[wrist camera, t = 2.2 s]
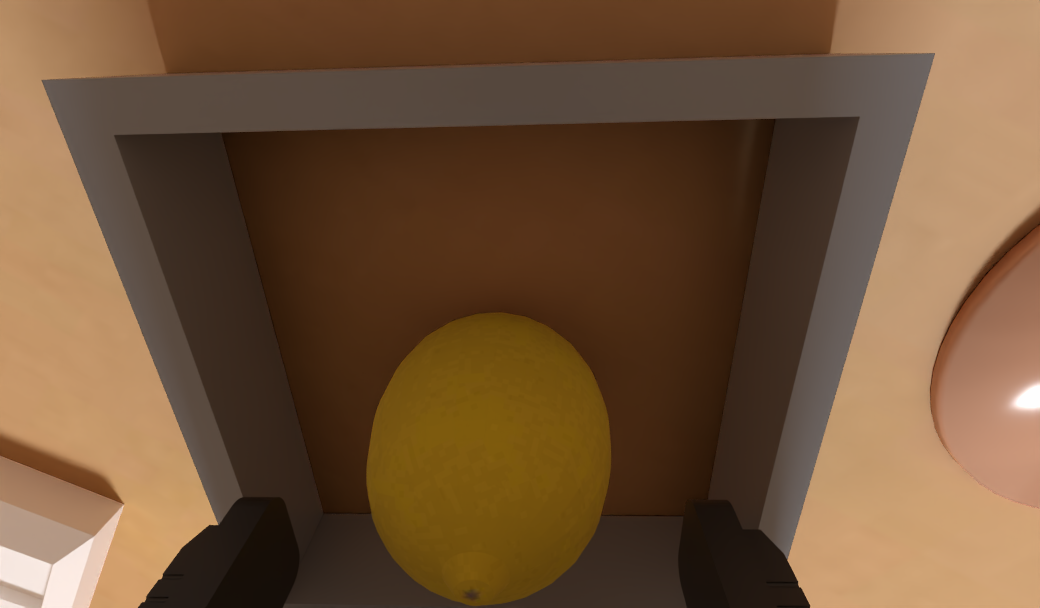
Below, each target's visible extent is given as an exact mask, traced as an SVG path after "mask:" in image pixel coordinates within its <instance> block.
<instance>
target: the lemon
mask: <svg viewBox="0 0 1040 608" xmlns="http://www.w3.org/2000/svg"><path fill="white" fill-rule="evenodd" d="M610 471H611V442H610V429H609V419H608V413H607V409H606V405H605V402H604V400H603V397H602V395H601V392H600V390H599V387H598V385H597V382H596V380H595V377H594V375H593V373H592V371H591V369H590V367H589V366H588V365H587V363H586V362H585V361H584V359H583V358H582V357H581V356H580V354H579V353H578V352H577V351H576V349H575V348H574V347H573V346H572V344H571V343H570V342H569V341H567V340H566V339H565V338H563V337H562V336H561V335H559V334H558V333H557V332H555V331H554V330H552V329H551V328H550V327H548V326H547V325H544V324H542V323H540V322H537V321H535V320H533V319H530V318H528V317H526V316H520V315H515V314H509V313H503V312H496V313H477V314H474V315H470V316H467V317H463V318H460V319H456V320H454V321H451V322H449V323H448V324H446V325H444V326H442V327H441V328H439V329H437V330H435V331H434V332H432V333H430V334H429V335H427V336H426V337H425V338H424V339H423V340H422V341H421V342H420V343H419V344H418V345H417V346H416V347H415V348H414V349H413V350H412V351H411V352H410V353H409V354H408V355H407V356H406V357H405V359H404V360H403V361H402V362H401V363H400V365H399V366H398V368H397V369H396V371H395V373H394V375H393V376H392V378H391V380H390V382H389V384H388V386H387V388H386V390H385V392H384V394H383V396H382V398H381V400H380V402H379V405H378V407H377V410H376V413H375V417H374V421H373V426H372V433H371V439H370V445H369V452H368V458H367V470H366V476H367V491H368V497H369V503H370V508H371V513H372V519H373V522H374V524H375V527H376V530H377V532H378V534H379V536H380V538H381V540H382V541H383V543H384V545H385V547H386V549H387V551H388V552H389V553H390V555H391V556H392V558H393V559H394V560H395V561H396V563H397V564H398V565H399V566H400V567H401V568H402V569H403V570H404V571H405V572H406V573H407V574H408V575H409V576H410V577H411V578H412V579H413V580H415V581H416V582H417V583H419V584H420V585H422V586H423V587H425V588H426V589H428V590H429V591H431V592H434V593H436V594H438V595H440V596H443V597H445V598H448V599H450V600H453V601H457V602H461V603H464V604H466V605H470V606H481V605H493V604H502V603H507V602H511V601H515V600H518V599H522V598H525V597H527V596H529V595H531V594H533V593H535V592H537V591H539V590H541V589H543V588H545V587H546V586H548V585H550V584H552V583H553V582H554V581H555V580H556V579H557V578H559V577H560V576H561V575H562V574H563V573H564V572H566V571H567V570H568V569H569V568H570V567H571V566H572V565H573V564H574V563H575V562H576V561H577V559H578V558H579V556H580V555H581V553H582V552H583V550H584V549H585V547H586V546H587V544H588V543H589V541H590V540H591V538H592V537H593V535H594V533H595V531H596V528H597V526H598V523H599V521H600V517H601V513H602V509H603V505H604V501H605V498H606V494H607V490H608V485H609V479H610Z"/></svg>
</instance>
